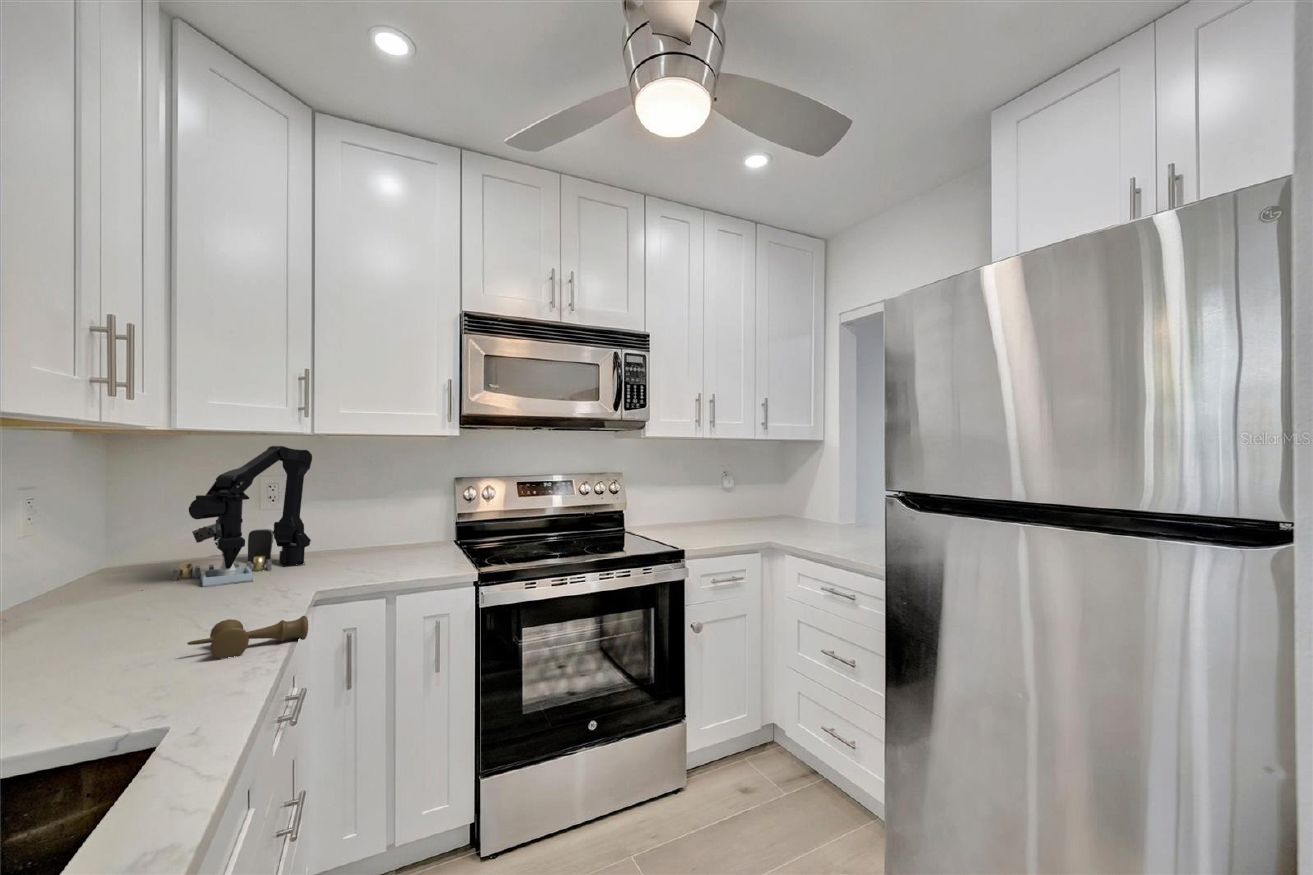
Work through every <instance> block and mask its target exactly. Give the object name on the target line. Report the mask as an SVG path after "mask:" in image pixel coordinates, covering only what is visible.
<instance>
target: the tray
mask: <svg viewBox="0 0 1313 875" xmlns="http://www.w3.org/2000/svg"><path fill="white" fill-rule="evenodd" d="M219 569H220V568H218V569H217V568H215V569H214V570H209V569H206V570H200V583H201V586H202V588H208V586H209V587H216V586H225V585H233V584H234V585H235V584H243V583H244V584H245V583H252V582H254V572H253V570H252V571H251V569H250V568H249V566H247V567H246V566H239V567H237V568H236V571H235V572H237V573H236V574H235V575H226V576H219V575H218V574H219V573H220V572H219Z"/></svg>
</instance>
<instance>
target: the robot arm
mask: <svg viewBox="0 0 1313 875" xmlns="http://www.w3.org/2000/svg"><path fill="white" fill-rule="evenodd" d="M279 461H280V462H282V468H283V470H284V471H285V473H286V480H285V488H284V489H285V490H284V491H285V492H284V498H283V499H284V500H283V510H282V516H281V518H280V519H279V520H278V521H275V522H274V524H273V530H272V531H273V533H272V534H273V540H275V544H276V547H278V548H279V547H281V550H280V551H279V557H278V563H279V564H280V566H282V567H290V566H289V565H293V566H297V565H296V564H303V563H305V564H306V562H305V552H306V550H305V549H306V548H307V547H310V544H311V541H312V539H311V538H310V537H309V536H308V535H307V533H305V524H304V522H303V520H302V518H301V508H302V500H303V499H302V498H303V488H304V481H305V480H304V479H305V475H306V474H307V472H308V471H309V470H310V469H311V465H312V461H313V454H312V453H311V452H310V451H309V450H308V449H297V448H290V447H286V446H284V445H270V446H268V447H267V449H266V450H265V451H263V452H261V453H260V454H258V455H257V456H256V457H254V458H253V459H251V460H249V461H248V462H247V463H245V464H243V465H242V466H240V467H238V468H235V469H230V470H228V471H226V472H224V473H221V474H219V475H218V476H217V477H216V478H215V482H214V483H213V484H212V486H211V487H210V488H209V490H207V492H206V494H205V495H204V494H203V495H202V494H201V495H199V494H198V495H196V496H195V499H194V500H192V501H191V503H190V505H189V507H188V512H189V513H188V514H189V515H190V517H191V519H194V520H203V519H205V520H206V519H213V518H216V519H215V523H214V524H211V525H207V526H203V527H198V528H197V529H195V530H192V531H191V532H192V535H193V537H194V540H195V542H196V543H197V544H198V543H202V542H204V541H205V540H208V539H211V538H213V541H215V542H214V544H215V545H216V549H218V550H219V551H221V554H222V557H223V556H224V561H225V567H226V569H228V568H231V566H232V564H234V562H235V560H236V558H237V557H238V555H239V553H240V552H241V550H242V548H243V547H246V539H245V538H244V537H243V532H242V523H244V522H243V504H244V503H243V501H244V500H245V501H247V500H250V496H248V495H247V494H246V493H245V492H246V491H247V489H248V488H249V487H251V486H252V484H253V481H254V479H255V478H256V477H258V476H259V475H260V474H261V473H263V472H265V471H266V470H267V469H269V468H270V467H272V466H273V465H274V464H276V463H277V462H279ZM216 541H217V542H216ZM222 552H223V553H222Z"/></svg>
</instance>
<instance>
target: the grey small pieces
mask: <svg viewBox="0 0 1313 875" xmlns="http://www.w3.org/2000/svg"><path fill="white" fill-rule="evenodd" d="M233 564H234V566H235V568H237V567H240V563H239V562H238V561H236V562H235V561H234V563H233ZM272 565H273V562H272V559H271V560H270V559H267V560H266V562H265V570H266V569H267V570H266V571H267V572H269V571H270V570H271V571H272ZM247 566H249V568H250V569H251V571H252V572H253V563H252V562H251V561H246V565H245V567H247ZM208 570H215V566H214V564H208ZM171 571H172V572H171V573H172V575H171V580H172V581H177V579H178V568H177V567H173V568H172V570H171ZM200 576H201V566H200V565H195V566H194V579H199V578H200Z"/></svg>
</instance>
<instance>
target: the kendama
mask: <svg viewBox="0 0 1313 875" xmlns="http://www.w3.org/2000/svg"><path fill="white" fill-rule="evenodd" d="M308 633H309V619H308V617H307V616H306V615H301V616H300V617H299V618H297V619H295V620H289V621H288V620H284V619H282V620H279V622H278V623H276V624H272V625H269V626H266V627H262V628H257V629H253V630H250V631H246V629H244V625H243V623H242V622H241V620H237V619H224V620H221V621H219V622H218V623H216V624H215V625H214V626H213V627H212V628H211V629H210V634H209V637H210V638H209V637H208V638H201V639H196V640H191V641H188V642H187V645H189V646H193V645H204V644H205V645H206V644H210V652H211V654H212V655H213V657H214V658H216V659H220V660H222V659H221V658H227V659H229V658H228V657H233V658H235V657H234V656H237V655H239V656H240V655H242V654H243V653H244V652H245V651H246V650H247V648H248V646H249V644H250V643H249V642H250V640H253V639H254V640H255V639H258V640H259V639H260V640H261V639H267V640H268V639H272V640H273V639H274V640H278V641H279V642H284V641H285V640H288V639H294V638H295V639H300V640H303V641H304V640H306V638H307V637H308ZM237 657H238V656H237Z"/></svg>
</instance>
